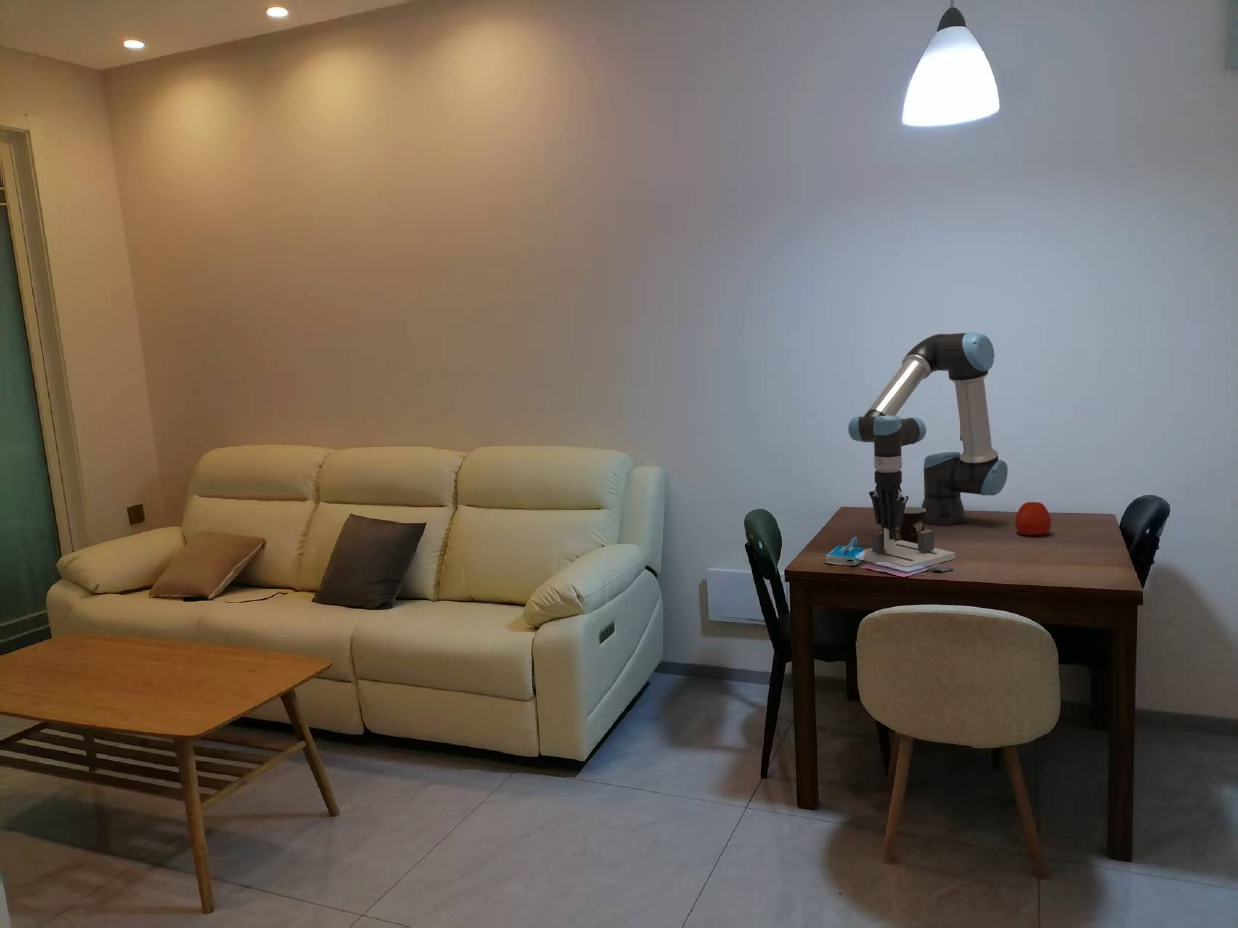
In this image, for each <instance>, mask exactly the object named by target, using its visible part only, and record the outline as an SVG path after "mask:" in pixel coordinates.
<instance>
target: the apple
mask: <svg viewBox="0 0 1238 928" xmlns="http://www.w3.org/2000/svg"><path fill="white" fill-rule="evenodd" d="M1014 520H1015V521H1014V522H1015V523H1014V524H1015V527H1016V530H1017V532H1018V533H1019V534H1021V535H1024V536H1044V535H1046V534H1047V533H1048V532H1050V529H1051V527H1052V518H1051V516H1050V513H1049V511H1048V509H1047V507H1046V506H1045V504H1044V503H1042V502H1038V501H1027V502H1025V503H1023V504H1022V505H1021V506H1020V507H1019V509H1018V510H1017V512H1016V514H1015V518H1014Z"/></svg>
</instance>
